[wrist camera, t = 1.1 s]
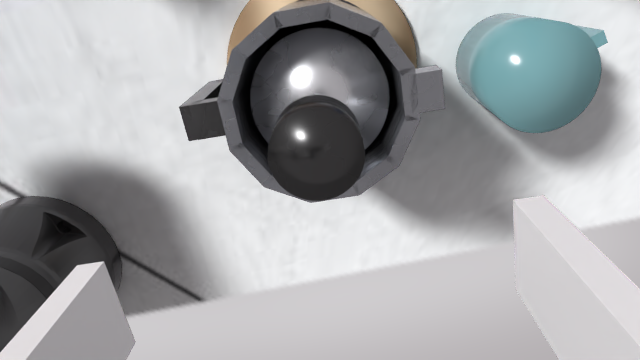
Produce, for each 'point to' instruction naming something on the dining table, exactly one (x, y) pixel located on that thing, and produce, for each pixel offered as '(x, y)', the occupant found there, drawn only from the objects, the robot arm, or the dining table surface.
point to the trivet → (375, 3)
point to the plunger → (319, 110)
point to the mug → (530, 69)
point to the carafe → (308, 12)
